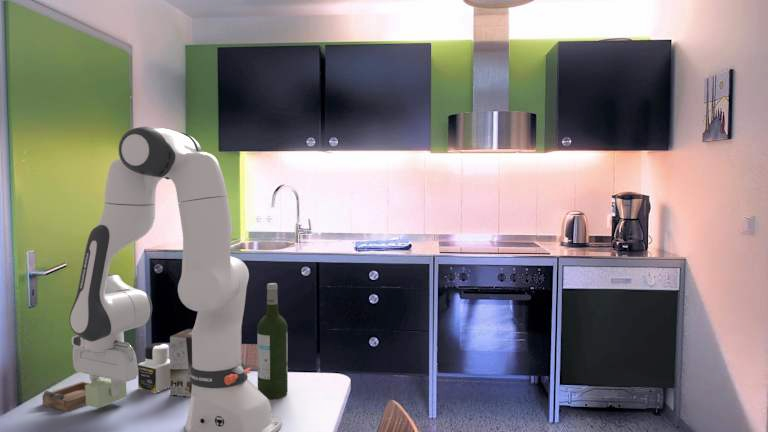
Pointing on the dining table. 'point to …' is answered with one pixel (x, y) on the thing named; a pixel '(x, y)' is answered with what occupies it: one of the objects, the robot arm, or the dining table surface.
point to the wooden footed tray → (66, 397)
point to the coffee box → (181, 363)
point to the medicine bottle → (155, 368)
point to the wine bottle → (272, 349)
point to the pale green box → (102, 393)
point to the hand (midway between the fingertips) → (106, 393)
